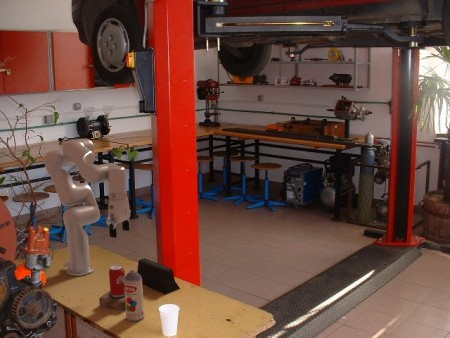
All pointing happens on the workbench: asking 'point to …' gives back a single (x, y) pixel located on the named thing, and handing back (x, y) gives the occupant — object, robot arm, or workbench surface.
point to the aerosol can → (133, 296)
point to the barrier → (157, 276)
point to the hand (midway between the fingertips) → (119, 233)
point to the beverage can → (117, 280)
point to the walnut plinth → (112, 302)
